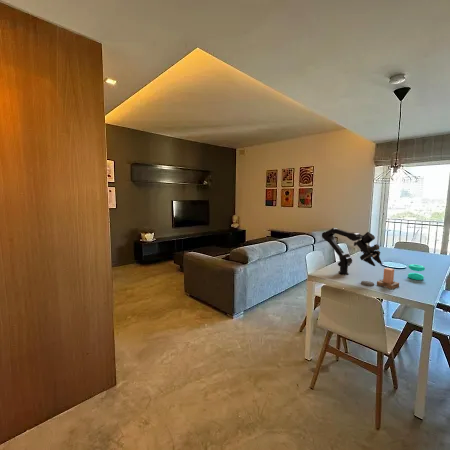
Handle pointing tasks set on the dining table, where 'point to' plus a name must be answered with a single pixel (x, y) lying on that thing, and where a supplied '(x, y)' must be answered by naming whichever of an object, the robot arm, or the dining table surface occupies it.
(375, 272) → the dining table surface
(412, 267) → the donuts
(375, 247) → the robot arm
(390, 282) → the peg
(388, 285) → the socket plate
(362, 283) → the pad
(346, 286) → the dining table surface
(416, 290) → the dining table surface
